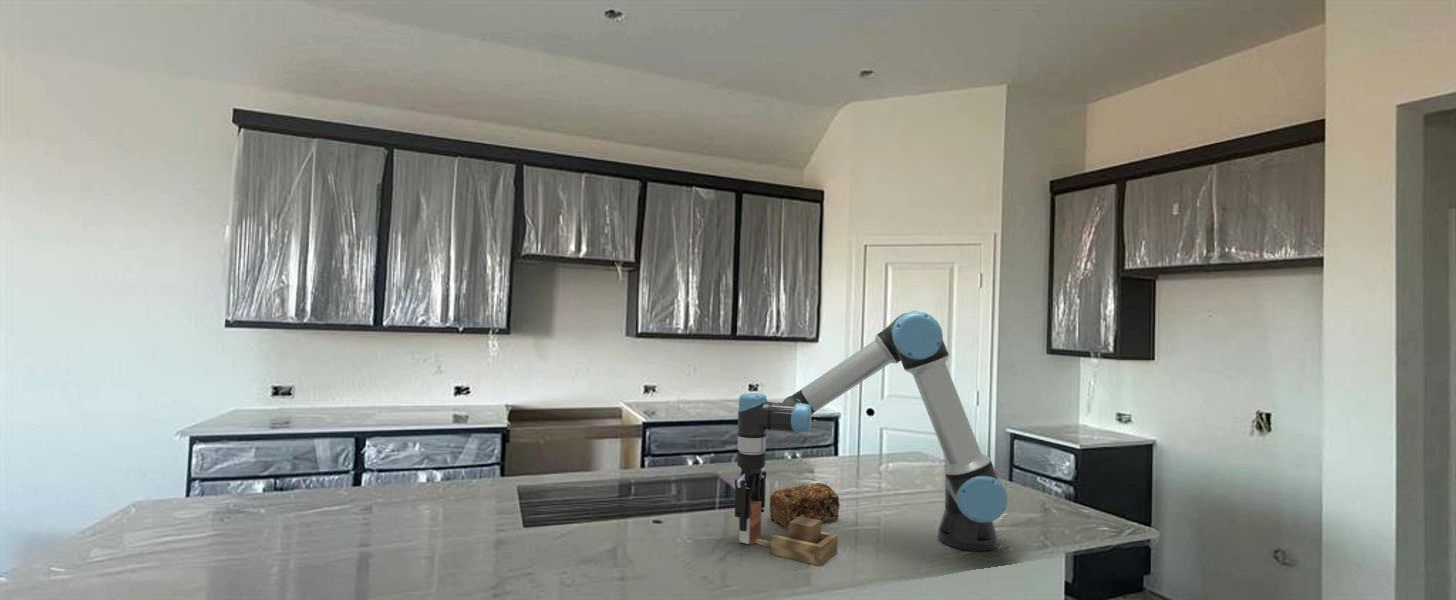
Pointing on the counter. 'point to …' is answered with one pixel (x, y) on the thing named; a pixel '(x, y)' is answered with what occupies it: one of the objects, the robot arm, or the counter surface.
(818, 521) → the tethered block
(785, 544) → the frame
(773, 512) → the bread
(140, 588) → the counter surface
